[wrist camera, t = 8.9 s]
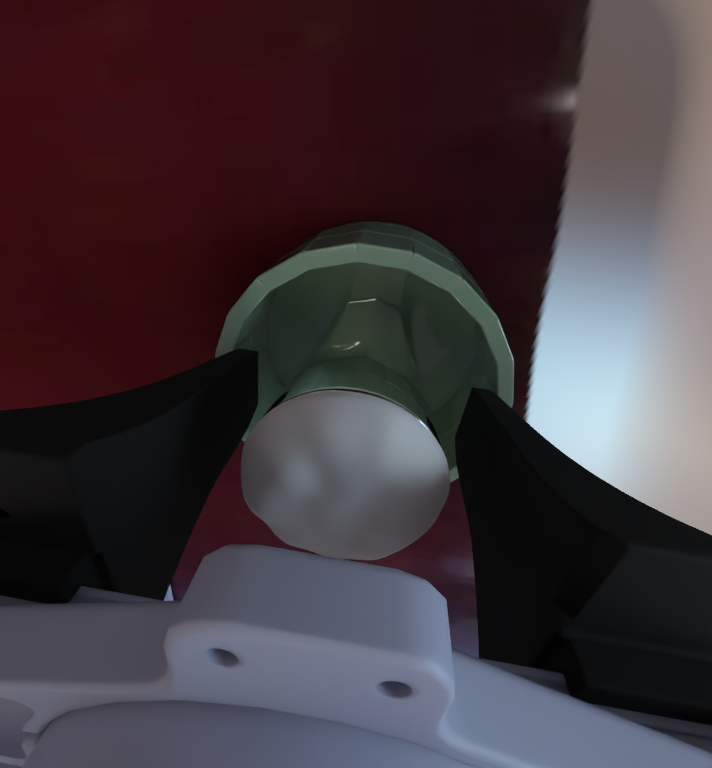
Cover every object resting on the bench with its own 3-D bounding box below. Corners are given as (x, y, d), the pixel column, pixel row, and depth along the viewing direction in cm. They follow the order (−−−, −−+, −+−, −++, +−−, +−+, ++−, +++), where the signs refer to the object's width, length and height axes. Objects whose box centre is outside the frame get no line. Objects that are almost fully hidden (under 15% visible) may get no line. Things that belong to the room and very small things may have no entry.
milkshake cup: (308, 391, 17) (212, 630, 8) (318, 270, 14) (190, 442, 6) (409, 409, 17) (417, 668, 8) (439, 291, 14) (500, 497, 5)
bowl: (451, 445, 18) (464, 521, 14) (259, 412, 19) (222, 479, 15) (520, 243, 13) (567, 276, 10) (260, 201, 14) (205, 218, 10)
